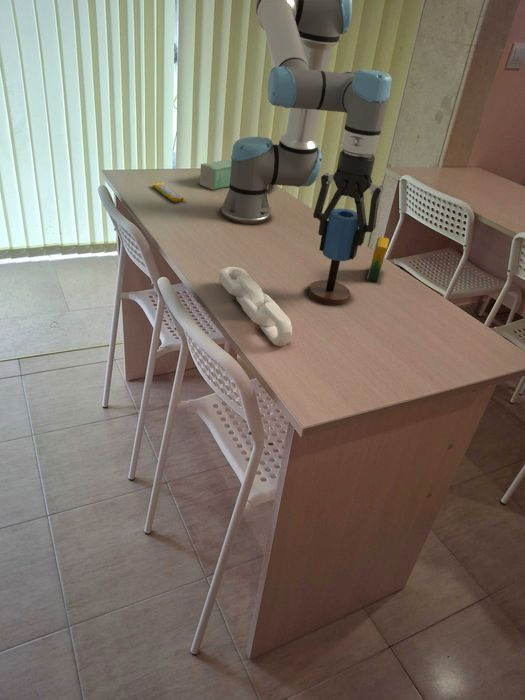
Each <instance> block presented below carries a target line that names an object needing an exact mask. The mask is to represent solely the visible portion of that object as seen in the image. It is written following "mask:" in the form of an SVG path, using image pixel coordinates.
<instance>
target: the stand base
mask: <svg viewBox="0 0 525 700" xmlns="http://www.w3.org/2000/svg"><path fill="white" fill-rule="evenodd" d="M327 281H328V279H321V280H315V281H313V282H311V284H310V285H309V288H308V294H309V296H310V297H311V299H313V300H314V301H316V302H318V303H320V304H323V305H329V306H340V305H344V304H347V302H349V300H350V295H351V291H350V289H349V288H348V287H347V286H346V285H344V284H342V283H340V282H337V281H336V283H335V288H334V291H327V290H326V286H327Z"/></svg>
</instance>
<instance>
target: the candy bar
mask: <svg viewBox="0 0 525 700" xmlns="http://www.w3.org/2000/svg"><path fill="white" fill-rule="evenodd" d="M151 186H152V187H154V189H156V190H157V191H158V192H159V193H161V195H163V196H164V197H166V198H167V199H168V200H170V201H171V202H173V203H179V202H182V201H184V196H182V197H181V196H180V195H178V194H177V193H175V192H174V191H173V190H172V189H170V188H169V187H168V186H167V185H166V184H164V182H162V181H159V182H152V183H151Z"/></svg>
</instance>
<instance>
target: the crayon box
mask: <svg viewBox="0 0 525 700" xmlns="http://www.w3.org/2000/svg"><path fill="white" fill-rule="evenodd" d="M380 234H381V229H380V230H379V233H378V236H377V239H376V243H375V247H374V251H373V255H372V259H371V264H370V267H369V270H368V274H367V278H366V280H367V281H370V282H374V283H378V282H379V278H380V275H381V271H382V268H383V264H384V259H385V256H386V253H387V249H388V245H389V242H390V239H389V238H388V237H383V236H380Z"/></svg>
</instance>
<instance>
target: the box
mask: <svg viewBox="0 0 525 700" xmlns="http://www.w3.org/2000/svg"><path fill="white" fill-rule="evenodd" d="M199 172H200V174H199V185H200V186H202V187H204V188H207V189H209V190H212V191H214V190H218V189H223V188H228V187H229V186H230V173H231V159H226V160H225V159H223V160H218V161H211V162H205V163H200V171H199Z"/></svg>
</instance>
